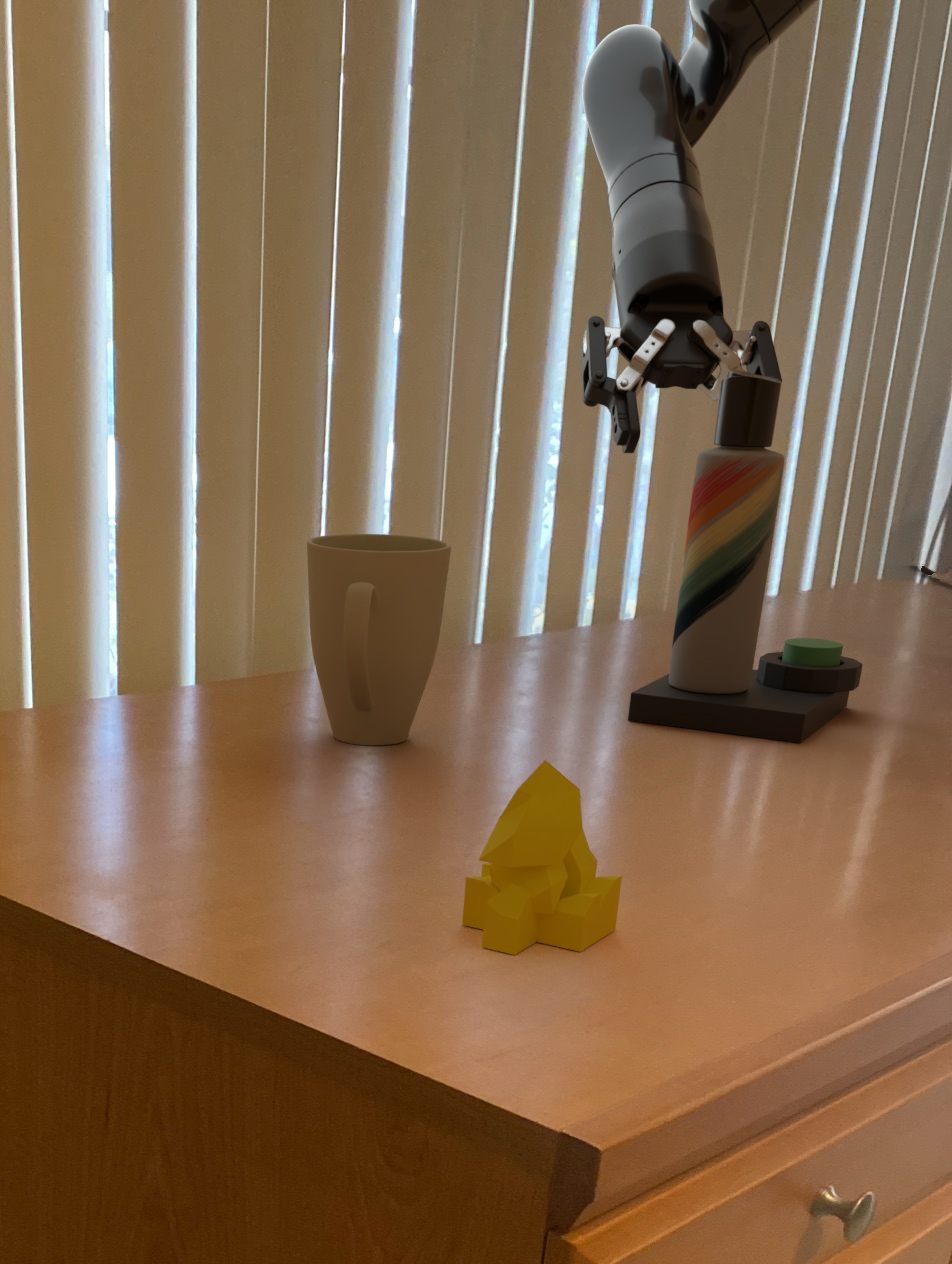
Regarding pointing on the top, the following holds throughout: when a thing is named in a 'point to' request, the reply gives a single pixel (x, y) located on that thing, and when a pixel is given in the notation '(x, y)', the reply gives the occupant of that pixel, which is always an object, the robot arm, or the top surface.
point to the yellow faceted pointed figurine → (541, 873)
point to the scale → (755, 701)
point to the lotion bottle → (729, 541)
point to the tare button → (812, 652)
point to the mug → (375, 629)
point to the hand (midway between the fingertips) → (689, 446)
